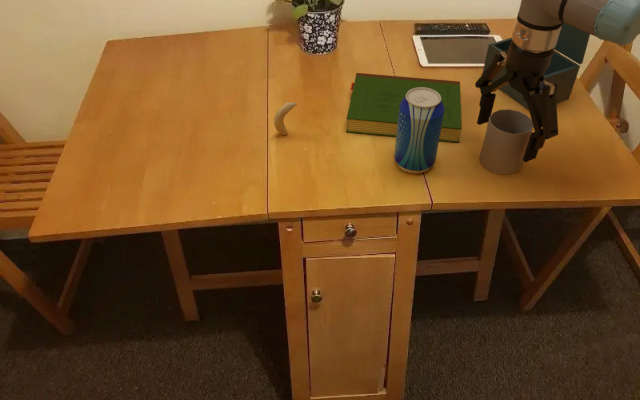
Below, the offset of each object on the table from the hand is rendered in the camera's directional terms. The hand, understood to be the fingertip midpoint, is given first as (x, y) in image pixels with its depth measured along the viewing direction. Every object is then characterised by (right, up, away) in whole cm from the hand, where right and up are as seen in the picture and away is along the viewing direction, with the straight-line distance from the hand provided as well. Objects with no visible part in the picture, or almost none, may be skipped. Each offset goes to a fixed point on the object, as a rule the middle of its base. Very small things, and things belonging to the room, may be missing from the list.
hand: (505, 140), depth 116 cm
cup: (0, -4, +4) cm, 6 cm away
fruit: (-44, +2, +10) cm, 46 cm away
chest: (+12, +15, +24) cm, 31 cm away
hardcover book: (-18, +8, +16) cm, 26 cm away
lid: (+16, +28, +15) cm, 36 cm away
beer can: (-18, -5, +3) cm, 19 cm away
